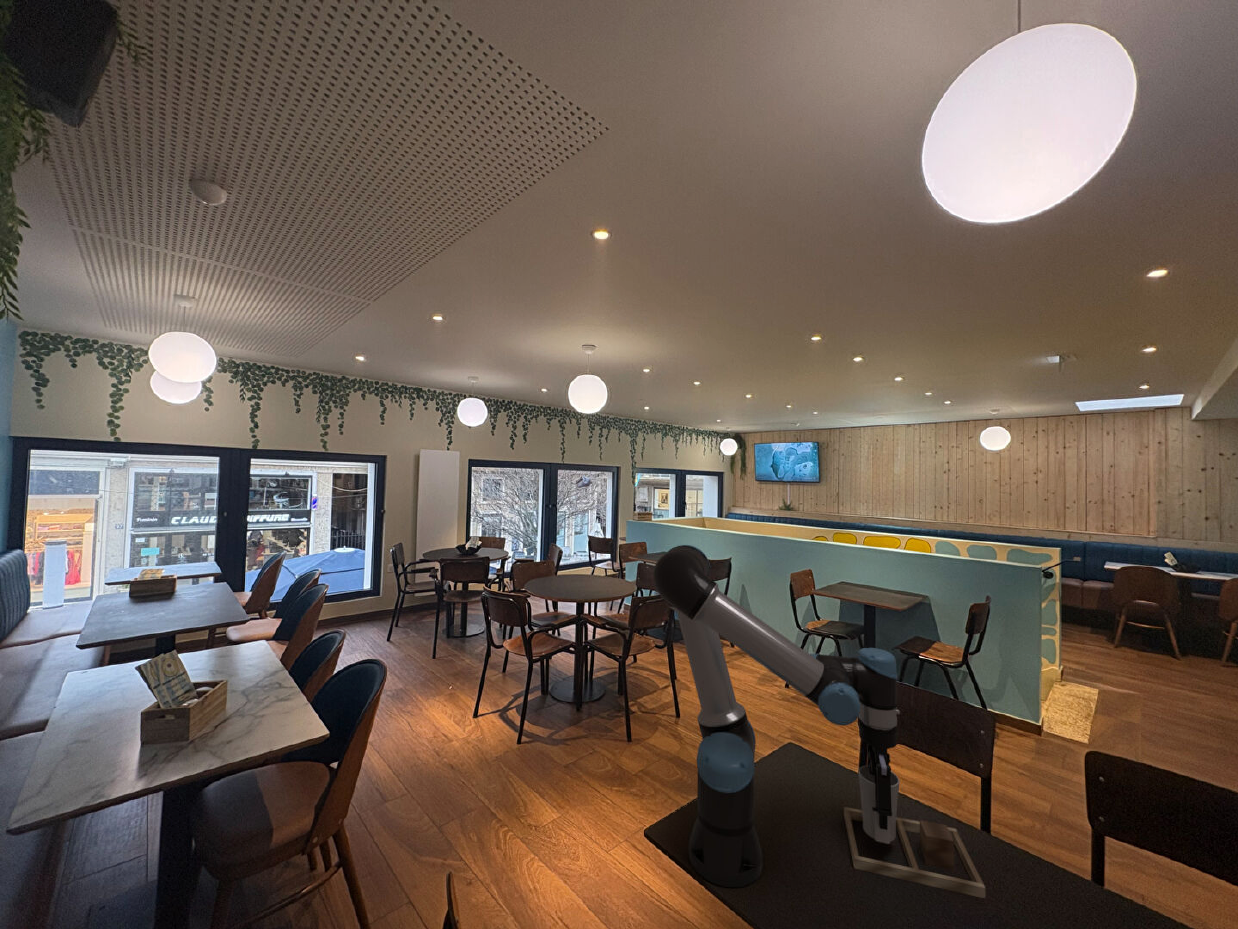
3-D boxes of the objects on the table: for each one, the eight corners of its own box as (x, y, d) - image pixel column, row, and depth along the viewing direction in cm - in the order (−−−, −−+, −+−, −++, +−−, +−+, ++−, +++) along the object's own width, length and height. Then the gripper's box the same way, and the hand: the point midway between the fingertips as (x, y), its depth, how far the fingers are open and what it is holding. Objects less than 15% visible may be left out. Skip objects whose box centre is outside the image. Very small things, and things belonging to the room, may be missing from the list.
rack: (853, 868, 102) (853, 858, 102) (844, 815, 118) (844, 806, 119) (985, 898, 95) (985, 888, 95) (955, 838, 111) (955, 828, 111)
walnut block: (926, 865, 104) (926, 835, 104) (919, 848, 108) (919, 820, 108) (954, 871, 102) (953, 841, 102) (946, 853, 107) (946, 825, 107)
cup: (905, 847, 104) (905, 789, 104) (864, 841, 106) (864, 784, 106) (892, 821, 112) (892, 767, 112) (854, 816, 113) (854, 763, 114)
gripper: (908, 749, 98) (909, 867, 98) (887, 705, 118) (888, 803, 117) (866, 743, 101) (867, 858, 100) (852, 700, 120) (853, 796, 119)
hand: (878, 828), depth 109 cm, fingers closed on cup, 7 cm apart
